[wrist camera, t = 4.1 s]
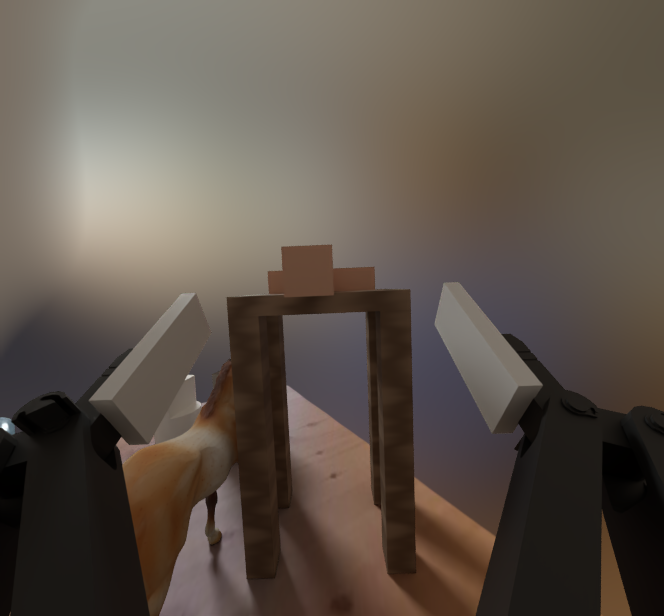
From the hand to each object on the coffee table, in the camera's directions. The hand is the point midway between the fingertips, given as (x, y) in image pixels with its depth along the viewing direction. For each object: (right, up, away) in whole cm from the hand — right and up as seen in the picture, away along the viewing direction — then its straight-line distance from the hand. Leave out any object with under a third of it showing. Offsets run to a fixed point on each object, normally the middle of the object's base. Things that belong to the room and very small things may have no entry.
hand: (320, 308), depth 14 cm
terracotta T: (-1, +2, +12) cm, 12 cm away
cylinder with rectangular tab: (-32, -28, +43) cm, 60 cm away
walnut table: (+1, -28, +20) cm, 34 cm away
